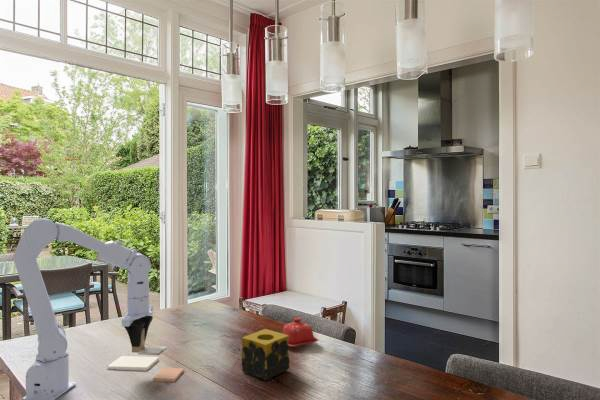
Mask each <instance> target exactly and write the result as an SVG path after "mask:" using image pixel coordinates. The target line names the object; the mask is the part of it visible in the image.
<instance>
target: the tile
mask: <svg viewBox="0 0 600 400" xmlns="http://www.w3.org/2000/svg"><path fill="white" fill-rule="evenodd" d="M184 372H185V368H183V367H180V368H179V367H163V368H162V369H161V370H160V371H159V372H157V374H155V375H154V377H153V378H152V381H153V382H168V383H169V382H173V383H174V382H176V381H177V380H178V379H179V378H180V376H181V375H182V374H183V373H184Z"/></svg>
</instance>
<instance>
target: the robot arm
mask: <svg viewBox="0 0 600 400" xmlns="http://www.w3.org/2000/svg"><path fill="white" fill-rule="evenodd" d="M55 239H56V241H57V242H56V243H61V242H62V243H63V242H70V243H74V244H77V245H79V246H81V247H84V248H87V249H89V250H91V251H93V252H96V253H97V254H99V258H100V260H101V261H103V262H105V263H109V264H111V265H113V266H115V267H117V268H119V269H122V270H125V269H126V270H127V285H126V287H127V288H126V289H127V291H126V293H127V294H126V295H127V296H126V297H127V298H126V300H127V302H126V303H127V304H126V306H127V309H126V310H127V312H126V314H125V315H124V317H123V318H122V319H121V327H123V328H124V330H126V332H127V334H128V338H129V342H130V344H131V348H132V347H139V346H140V343H141V336H142V330H143V328H145V341H146V339H147V334H148V330H149V329H150V325H151V323H152V321H153V319H154V315H153V314H154V305H150V278H149V275H150V274H149V272H150V271H151V269H152V264H151V261H150V258H149V257H147V256H146V255H144V254H142V253H141V252H138V249H135V248H133V249H131V248H129V247H127V246H125V245H123V244H122V242H121V241H120V240H116V241H114V240H110V241H109V240H108V241H106V242H105V241H102V240H101V239H98V238H96V237H94V236H92V235H90V234H88V233H86V232H83V231H81V230H79V229H78V228H75V227H73V226H71V225H68V224H65V223H62V222H57V221H55V223H54V221H53V220H52V219H50V218H47V217H40V218H36V219H34V220H33V221H31V222H30V223H29V224H28V225H27V226H26V227H25V229H24V230H23V232H22V233H21V237H20V239H19V242H17V243H18V244H17V245H16V248H15V251H14V253H13V255H12V258H13V260H12V261H13V263H14V265H15V269H16V272H17V274H18V277H19V280H20V283H21V286H22V289H23V293H24V295H25V298H26V301H27V304H28V308H29V311H30V313H31V317H32V319H33V322H34V325H35V329H36V334H37V342H38V346H37V354H36V355H35V361H34V363H33V364H32V365H31V366H30V367H29V368H28V369H27V371H26V372H25V373H26V374H25V396H23V397H22V400H56V399H57V398H59V397H61V396H62V395H63V394H64V393H66V392H68V391H69V390H70V389H72V388H74V387H75V386H76V385H77V382H76V381H75V382H74V381H70V380H69V379H70V378H69V376H70V374H69V369H70V368H69V367H70V366H69V364H70V363H69V359H70V358H69V355H70V354H69V353H70V352H69V350H68V349H67V348H68V340H67V337H66V331H65V329H64V328H63V327H62V326H61V325H59V323H58V319H57V317H56V314H55V312H54V309H53V308H54V307H53V305H52V302H51V299H50V296H49V294H48V290H47V288H46V284H45V281H44V279H43V275H42V272H41V269H40V266H39V263H38V260H37V259H38V257H39V255H40V254H41V253H42V252H43V250H44V248H45V247H46V246H48V245H50V244H51V243H53V241H54V240H55Z"/></svg>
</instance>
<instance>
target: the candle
mask: <svg viewBox="0 0 600 400" xmlns="http://www.w3.org/2000/svg"><path fill="white" fill-rule="evenodd" d="M288 340H289V336H288V335H285V334H282V333H281V332H278V331H275V330H270V329H269V328H268V329H267V328H263V329H262V330H258V331H256V332H254V333H250V334H248V335H244V336H243V337H241V346H242V347H241V348H242V349H241V367H242V368H241V370H242V372H243V373H246V374H249V375H251V376H254V377H257V378H259V379H262V380H264V381H266V380H269V379H271V378H273V377H276V376H278V375H279V374H282V373H283V372H286V371H288V370H289V369H290V365H289V364H290V353H289V348H290V346H289V345H288Z"/></svg>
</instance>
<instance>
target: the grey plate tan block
mask: <svg viewBox="0 0 600 400" xmlns="http://www.w3.org/2000/svg"><path fill="white" fill-rule="evenodd" d="M145 344H146V340H145V328H143V330H142V336H141V343H140V346H139V347H132V346H131V353H136V354H137V355H141V356H142V355H146V356H160V355H161V354H162V353H164V352H165V351H166V350H167V349H168V347H167V346H162V345H161V346H159V345H158V346H157V345H145Z"/></svg>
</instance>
